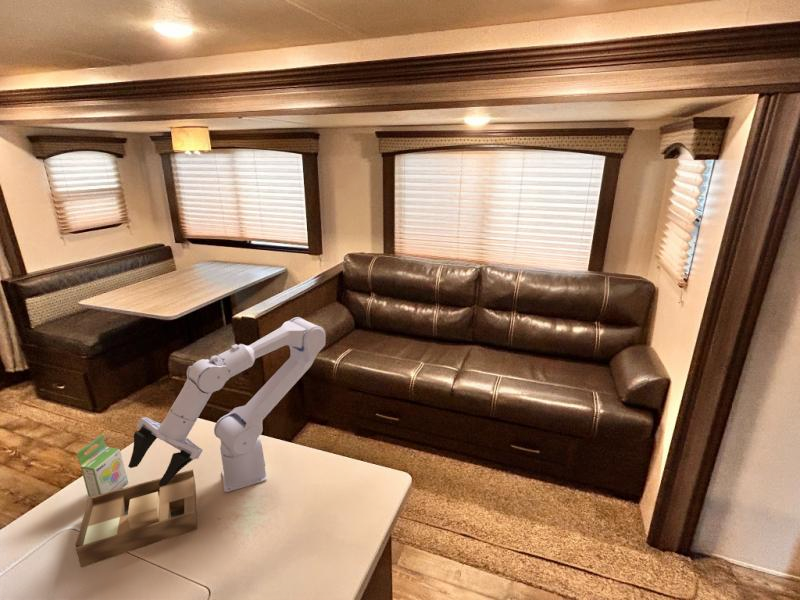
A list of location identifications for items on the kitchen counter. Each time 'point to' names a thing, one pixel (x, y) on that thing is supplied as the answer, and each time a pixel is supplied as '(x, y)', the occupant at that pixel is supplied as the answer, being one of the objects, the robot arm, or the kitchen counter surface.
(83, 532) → the box
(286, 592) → the kitchen counter surface
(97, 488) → the ink box
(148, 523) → the maple block
